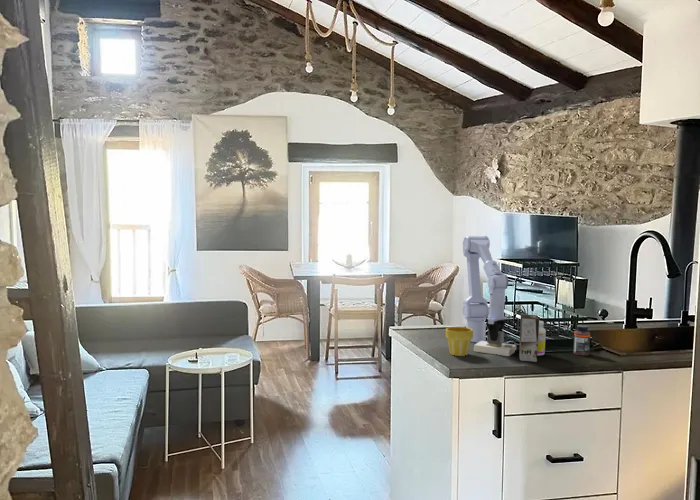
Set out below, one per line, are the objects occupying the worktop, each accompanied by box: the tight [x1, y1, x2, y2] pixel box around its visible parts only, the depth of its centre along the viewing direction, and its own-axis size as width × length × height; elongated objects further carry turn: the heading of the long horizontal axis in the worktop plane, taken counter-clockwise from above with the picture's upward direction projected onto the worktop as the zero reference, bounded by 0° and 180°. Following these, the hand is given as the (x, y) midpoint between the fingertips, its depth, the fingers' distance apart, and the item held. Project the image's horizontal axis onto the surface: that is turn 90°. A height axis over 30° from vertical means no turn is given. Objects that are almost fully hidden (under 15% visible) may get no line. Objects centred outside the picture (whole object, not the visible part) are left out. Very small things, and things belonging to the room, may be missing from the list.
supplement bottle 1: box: [537, 320, 547, 357], centre depth 258 cm, size 7×7×13 cm
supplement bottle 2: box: [572, 324, 591, 357], centre depth 260 cm, size 6×6×11 cm
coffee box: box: [518, 314, 540, 363], centre depth 251 cm, size 9×6×16 cm
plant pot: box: [445, 326, 473, 357], centre depth 255 cm, size 10×10×10 cm
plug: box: [486, 330, 505, 347], centre depth 261 cm, size 4×5×6 cm
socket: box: [473, 340, 517, 357], centre depth 262 cm, size 10×14×3 cm
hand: (495, 339), depth 261 cm, fingers closed on plug, 4 cm apart
